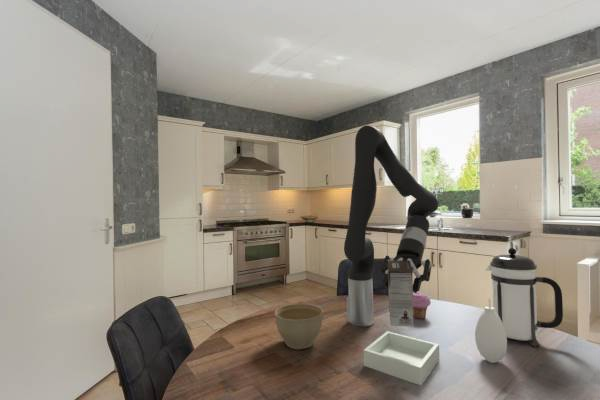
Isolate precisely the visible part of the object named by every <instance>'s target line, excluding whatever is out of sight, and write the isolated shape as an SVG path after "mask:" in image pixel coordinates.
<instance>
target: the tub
mask: <svg viewBox="0 0 600 400" xmlns="http://www.w3.org/2000/svg"><path fill="white" fill-rule="evenodd" d="M439 361H440V344H439V343H435V342H430V341H427V340H424V339H420V338H415V337H412V336H409V335H408V336H407V335H403V334H399V333H395V332H392V331H388V330H386V331H385V332H384V333H383V334H381V336H379V337H378V338H377V339H375V341H374V340H373V342H372V343H370V344H369V345H367V347H366V348H364V349H363V366H364V367H366V368H370V369H372V370H375V371H378V372H381V373H384V374H387V375H389V376H392V377H395V378H398V379H401V380H404V381H406V382H409V383H412V384H415V385H418V386H422V385H423V384H424V382H425V381H426V379H427V378H428V377H429V375H430V374H431V372H432V371H433V370H434V368H435V367H436V365H437V364H438V362H439Z"/></svg>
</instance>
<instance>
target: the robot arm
mask: <svg viewBox="0 0 600 400" xmlns="http://www.w3.org/2000/svg"><path fill="white" fill-rule="evenodd" d="M354 141H355V142H354V143H355V144H354V146H355V147H354V149H355V150H354V159H355V161H354V167H353V168H354V171H353V179H352V187H351V194H350V195H351V196H350V208H349V217H348V224H347V225H348V226H347V230H346V235H345V239H344V247H343V252H344V256H345V258H346V259H347V260H348V261H349V262H352V263H351V265H350V268H349V270H348V271H347V276H348V277H347V278H348V279H347V283H348V296H346V321H347V323H350V325H353V326H356V327H370V326H372V325H374V323H375V322H374V290H373V274H374V273H373V272H374V269H375V248H374V244H373V241H372V240H371V239H370V238H369V237H368V236H367V235H366V234H367V233H366V232H367V227H368V224H369V220H370V218H371V216H372V214H373V212H374V209H375V205H376V202H377V201H376V199H377V190H378V189H377V188H378V187H377V177H376V171H375V159H376V160H377V162H379V163H380V165H381V167H383V170H384V172H385V174H386V176H387V177H388V179H389V181H390V183H391V184H392V186H394V188H395V189H396V190H397V192H398V194H400V195H401V196H402V197H404V198H408V197H410V196H412V197H413V198H414V201H413V202H411V203H410V204H409V206H408V209H407V213H406V214H407V217H406V218H407V222H406V225H405V228H404V231H403V232H402V235H401V237H400V238H401V239H400V241H399V245H398V248H397V250H396V255H395V257H390V256H389V255H385V257H384V259H383V262H382V264H381V267H380V268H379V269H380V270H379V271H380V272H381V274H382V276H384V277H383V280H382V285H383V286H384V288H385V289H387V290H388V261H396V260H397V261H408V260H409V261H410V264H411V268H412V272H413V274H414V276H415V277H414V280H413V292H414V293H417V292H420V290H421V289H420V288H421V285H422V282H429V281H430V278H431V272H432V267H433V266H432V262H431V261H430V259H428V258H427V259H425V260H423V256H424V253H425V248H426V246H427V245H426V244H427V236H428V234H429V229H430V222H429V219H428V217H429V216H431V215H432V214H434V213H435V212H436V211H437V210H438V208H439V200H438V199H437V197H436V196H435V195H434V193H432V192H431V191H429V190H428V189H427V188H425V186H423V185H421V184H420V183H418V181H417V180H416V179H415V177H414V176H413V175H412V174H411V173H410V172H409V169H408V168H406V167H405V165H404V164H403V162H401V161H400V160H399V158H398V157H397V155H396V154H395V152H394V151H393V149H392V147H391V146H390V145H389V143H388V141H387V138H386V137H385V135H384V133H383V131H382V130H381V129H378V128H377V127H375V126H372V125H369V124H368V125H363V126H362V127H360V128H359V129H358V130H357V133H356V135H355V140H354ZM421 266H422V267H423V272H422V274H420V272H419V271H418V269H419V268H421Z"/></svg>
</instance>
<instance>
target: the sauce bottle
mask: <svg viewBox="0 0 600 400" xmlns="http://www.w3.org/2000/svg"><path fill="white" fill-rule="evenodd" d="M474 338H475V343H476V344H475V345H476V348H477V350H478V352H479V354H480V356H482V358H484V360H485V361H487V362H489V363H492V364H493V363H494V364H495V363H498V362H499V361H502V360H503V358H504V357H505V355H506V353H507V350H508V338H507V336H506V332H505V328H504V326H503V323H502V321H501V319H500V317H499V316H498V314H497V313H496V312H495V308H493V306H492V305H491V299H490V298H488V306H485V307H484V309H483V311H482V312H481V314H480V315H479V317H478V319H477V323H476V326H475V331H474Z"/></svg>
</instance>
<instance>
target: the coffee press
mask: <svg viewBox="0 0 600 400" xmlns="http://www.w3.org/2000/svg"><path fill="white" fill-rule="evenodd" d="M507 252H508V254H499V255H496V256H494V257H493V258H492V259H491V261H490V264H489V265H488V266H487V267H486V269H485V270H486V271H488V272H489V271H490V272H491V274H490V275H491V281H492V282H491V283H492V307H493V308H495V312H496V313H497V314H498V316H499V317H500V319H501V321H502V323H503V326H504V328H505V332H506V336H507V339H512V340H516V341H527V342H528V343H530V345H531V347H533V348H538V347H540V343H539V341H538V339H537V337H538V329H539V328H544V329H554V328H557V327H559V326H560V325H561V324H562V321H563V318H564V314H563V313H564V311H563V310H564V307H563V305H564V304H563V292H562V289H561V287H560V285H559V284H558V283H557V281H555V280H553V279H552V278H550V277H546V276H545V277H544V276H542V277H541V276H536V275H537V274H536V270H537V268H538V266H537V264H536V263H535V261H534V260H533V259H532V258H530V257H528V256H525V255H517V254H516V253H517V250H516V249H515V248H514V247H511V248H508V251H507ZM538 283H543V284H547V285H550V286H551V287H552V289H553V291H554V312H555V313H554V318H553V319H552V320H551V321H540V320H538V306H537V305H538V304H537V284H538Z"/></svg>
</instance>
